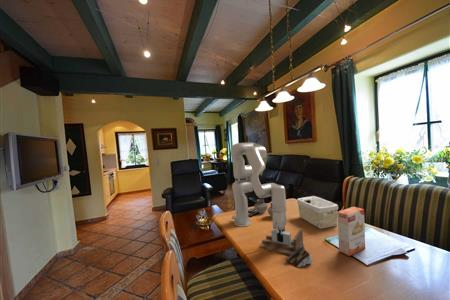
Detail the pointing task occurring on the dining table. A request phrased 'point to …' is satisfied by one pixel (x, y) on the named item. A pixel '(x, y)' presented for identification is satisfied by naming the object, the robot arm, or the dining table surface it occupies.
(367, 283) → the dining table surface
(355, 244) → the cracker box
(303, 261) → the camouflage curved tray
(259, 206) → the pottery
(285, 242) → the door slab
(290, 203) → the dining table surface
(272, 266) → the dining table surface
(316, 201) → the storage basket
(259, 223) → the dining table surface
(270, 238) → the track base
